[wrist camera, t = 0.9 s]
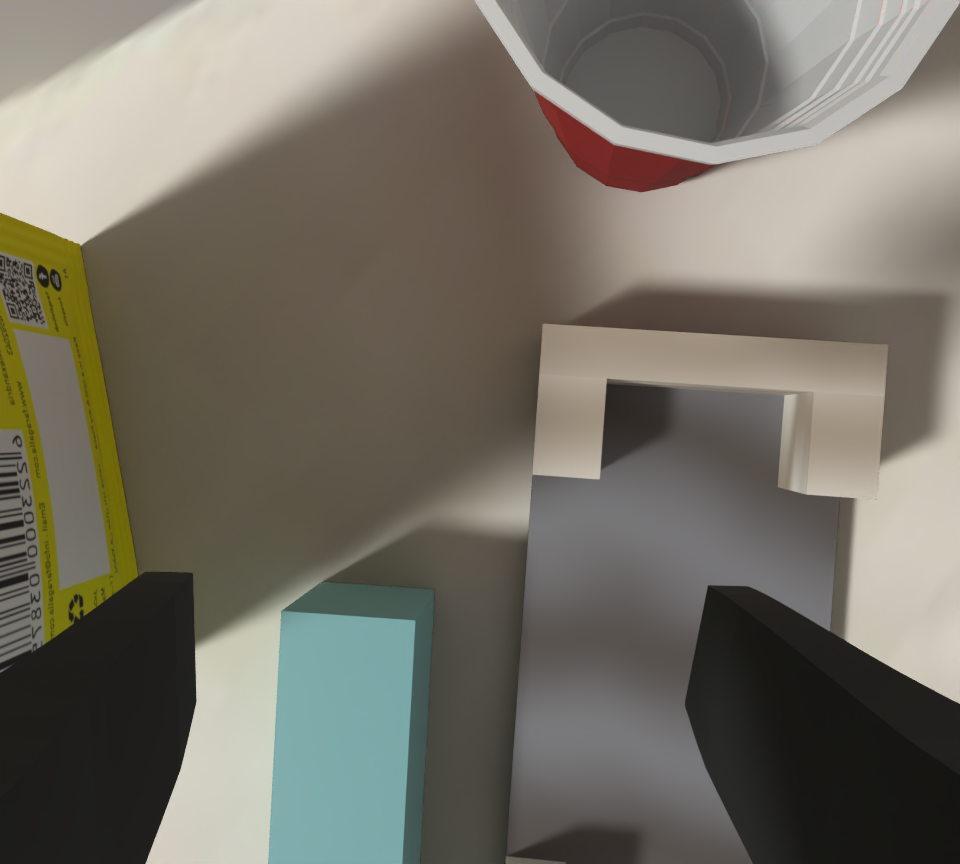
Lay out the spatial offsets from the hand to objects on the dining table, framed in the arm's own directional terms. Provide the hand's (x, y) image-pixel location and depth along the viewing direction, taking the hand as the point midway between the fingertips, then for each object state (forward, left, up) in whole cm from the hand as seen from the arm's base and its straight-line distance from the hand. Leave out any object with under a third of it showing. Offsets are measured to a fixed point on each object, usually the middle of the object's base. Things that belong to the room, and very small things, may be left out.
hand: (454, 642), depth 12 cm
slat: (-11, +4, -18) cm, 21 cm away
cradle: (-5, -6, -18) cm, 19 cm away
